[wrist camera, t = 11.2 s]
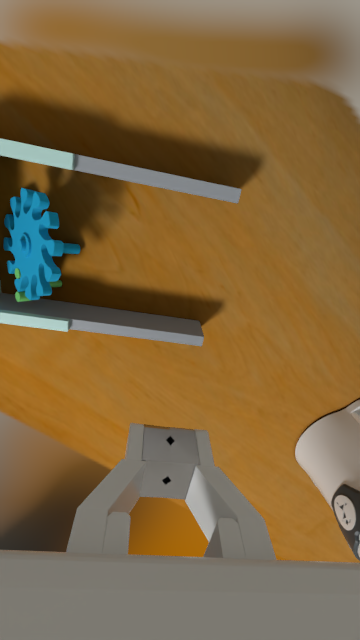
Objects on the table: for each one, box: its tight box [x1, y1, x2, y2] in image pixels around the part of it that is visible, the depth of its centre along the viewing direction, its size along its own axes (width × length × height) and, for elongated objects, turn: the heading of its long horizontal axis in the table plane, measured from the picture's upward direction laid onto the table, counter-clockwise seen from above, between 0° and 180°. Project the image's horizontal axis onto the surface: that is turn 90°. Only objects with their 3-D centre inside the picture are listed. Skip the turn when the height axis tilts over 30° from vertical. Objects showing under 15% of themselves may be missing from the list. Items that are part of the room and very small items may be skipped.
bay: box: [0, 138, 242, 346], centre depth 29 cm, size 24×16×5 cm
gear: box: [4, 188, 80, 302], centre depth 29 cm, size 11×6×10 cm
